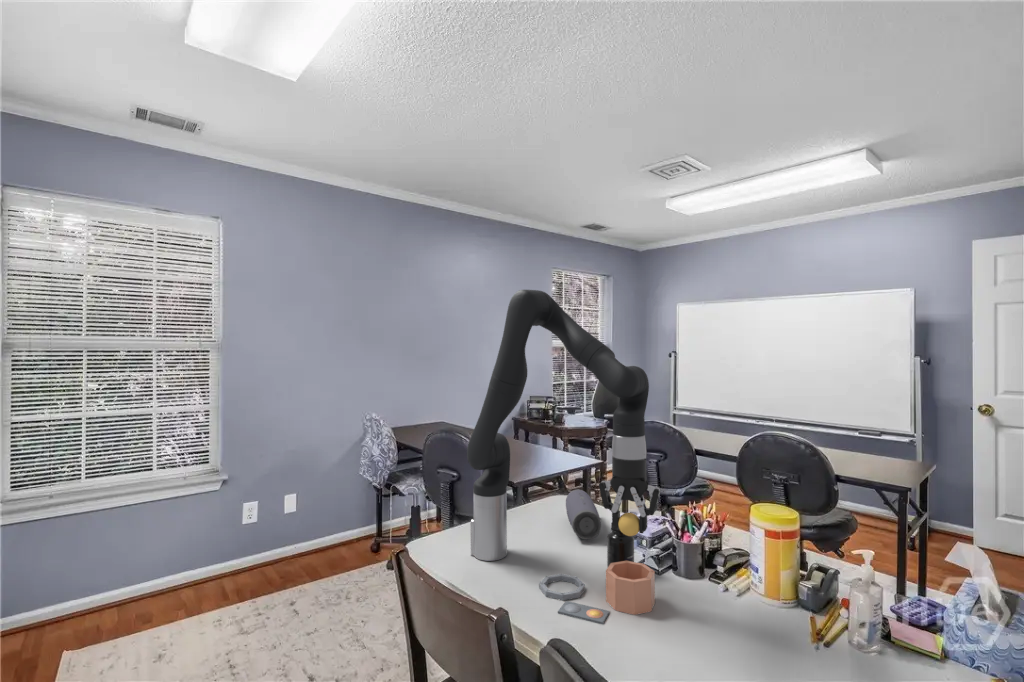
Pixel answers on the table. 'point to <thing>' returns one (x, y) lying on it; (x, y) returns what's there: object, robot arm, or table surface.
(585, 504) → the bluetooth speaker
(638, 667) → the table surface
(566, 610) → the card
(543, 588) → the gray octagonal ring
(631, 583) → the octagonal planter pot
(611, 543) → the supplement bottle
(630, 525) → the ball
